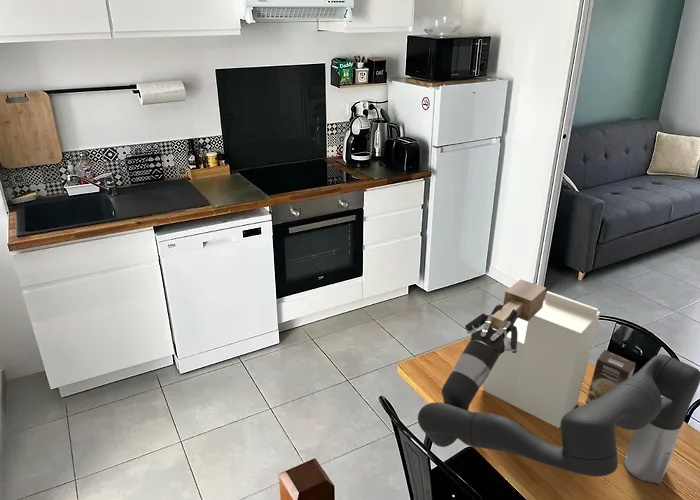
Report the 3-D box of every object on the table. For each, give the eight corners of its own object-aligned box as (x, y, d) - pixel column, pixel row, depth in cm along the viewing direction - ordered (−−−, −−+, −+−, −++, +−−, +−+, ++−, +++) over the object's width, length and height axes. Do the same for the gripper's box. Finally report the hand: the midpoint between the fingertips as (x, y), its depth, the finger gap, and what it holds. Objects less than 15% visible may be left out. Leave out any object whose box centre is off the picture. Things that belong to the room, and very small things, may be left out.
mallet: (542, 307, 142) (546, 287, 139) (508, 340, 128) (511, 318, 126) (517, 298, 146) (520, 279, 143) (481, 329, 132) (484, 308, 130)
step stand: (577, 403, 161) (602, 304, 146) (558, 428, 152) (583, 325, 137) (504, 368, 175) (519, 275, 161) (482, 390, 166) (497, 293, 151)
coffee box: (584, 402, 162) (595, 358, 155) (592, 391, 166) (603, 348, 159) (616, 417, 156) (629, 372, 149) (623, 406, 160) (636, 362, 153)
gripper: (500, 369, 119) (534, 310, 126) (445, 345, 127) (480, 290, 134) (504, 385, 124) (536, 327, 131) (451, 360, 132) (484, 306, 139)
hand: (508, 308), depth 132 cm, fingers closed on mallet, 3 cm apart
